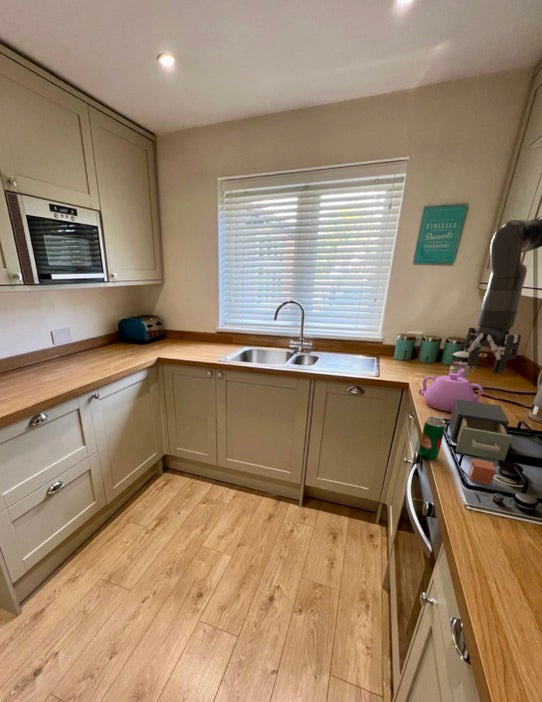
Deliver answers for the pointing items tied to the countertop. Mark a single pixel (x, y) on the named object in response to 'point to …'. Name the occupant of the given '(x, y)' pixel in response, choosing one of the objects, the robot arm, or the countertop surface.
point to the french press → (461, 364)
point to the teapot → (449, 391)
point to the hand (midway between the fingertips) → (483, 369)
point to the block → (481, 471)
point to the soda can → (431, 438)
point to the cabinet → (475, 414)
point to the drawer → (482, 438)
